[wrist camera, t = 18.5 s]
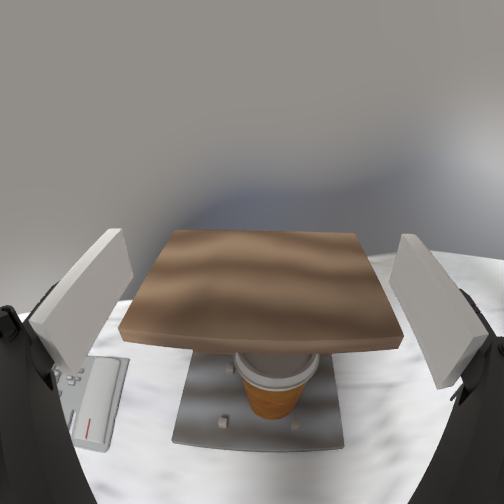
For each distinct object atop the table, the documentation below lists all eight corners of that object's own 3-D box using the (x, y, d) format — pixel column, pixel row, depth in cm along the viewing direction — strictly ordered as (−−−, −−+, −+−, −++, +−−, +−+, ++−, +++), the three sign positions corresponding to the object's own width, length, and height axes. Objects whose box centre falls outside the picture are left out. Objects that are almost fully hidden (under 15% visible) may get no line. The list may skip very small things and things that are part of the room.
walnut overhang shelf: (342, 448, 29) (408, 345, 18) (173, 442, 30) (113, 337, 19) (328, 350, 44) (354, 233, 33) (196, 346, 45) (175, 230, 35)
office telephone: (126, 352, 41) (105, 463, 24) (130, 362, 43) (112, 469, 25) (25, 343, 39) (-11, 426, 22) (30, 352, 40) (-2, 434, 23)
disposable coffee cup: (233, 378, 39) (228, 321, 33) (297, 369, 40) (307, 312, 34) (242, 435, 31) (238, 388, 25) (314, 422, 32) (333, 373, 26)
